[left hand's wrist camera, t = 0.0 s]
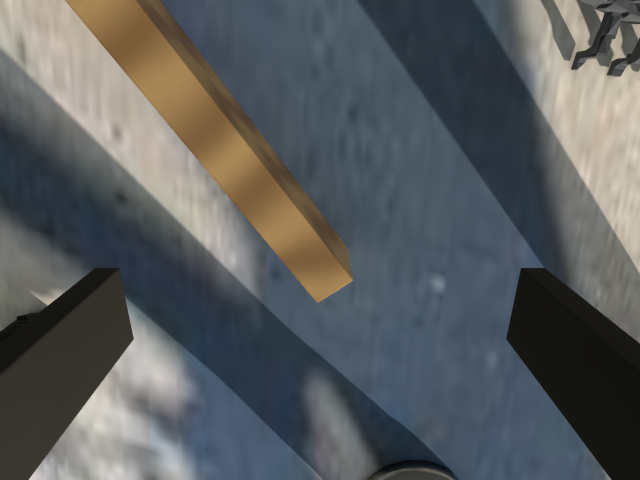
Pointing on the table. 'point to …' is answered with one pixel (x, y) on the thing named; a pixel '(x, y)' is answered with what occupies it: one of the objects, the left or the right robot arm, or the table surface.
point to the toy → (611, 33)
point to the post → (219, 136)
